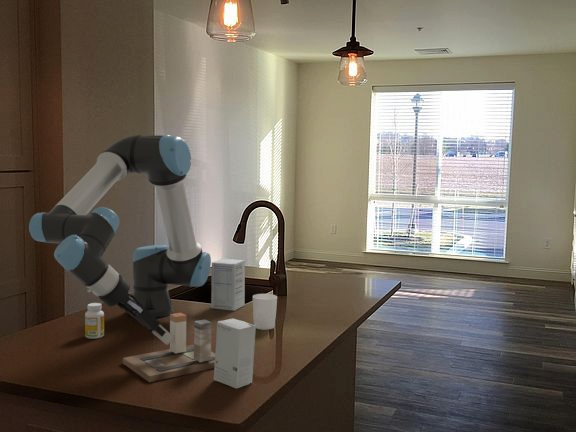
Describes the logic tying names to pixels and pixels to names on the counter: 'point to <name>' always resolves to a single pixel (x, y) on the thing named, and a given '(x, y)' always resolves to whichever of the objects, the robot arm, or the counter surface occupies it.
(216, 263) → the supplement box
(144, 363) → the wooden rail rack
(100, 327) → the supplement bottle
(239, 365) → the skincare box
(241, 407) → the counter surface
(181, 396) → the counter surface
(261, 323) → the white cup
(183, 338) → the tab
